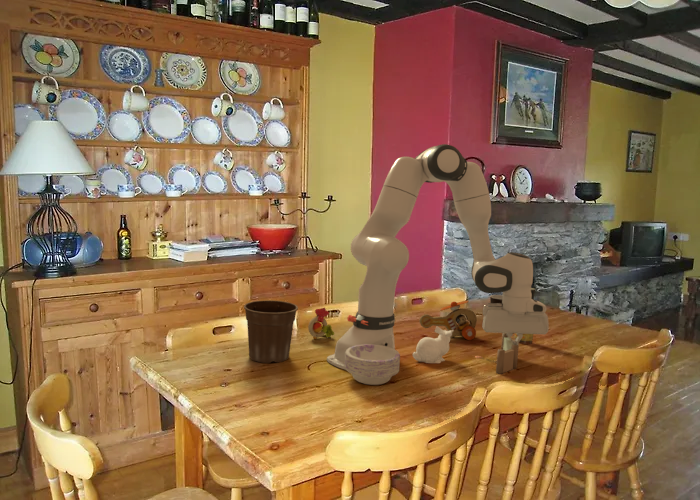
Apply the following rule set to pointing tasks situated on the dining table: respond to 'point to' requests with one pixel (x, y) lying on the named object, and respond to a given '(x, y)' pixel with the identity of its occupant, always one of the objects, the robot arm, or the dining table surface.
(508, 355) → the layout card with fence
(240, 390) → the dining table surface
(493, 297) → the coffee mug
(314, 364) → the dining table surface
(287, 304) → the plant pot
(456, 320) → the toy helicopter
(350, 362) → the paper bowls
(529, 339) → the sauce bottle
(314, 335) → the bird rattle
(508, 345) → the sage gate panel
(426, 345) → the rabbit
